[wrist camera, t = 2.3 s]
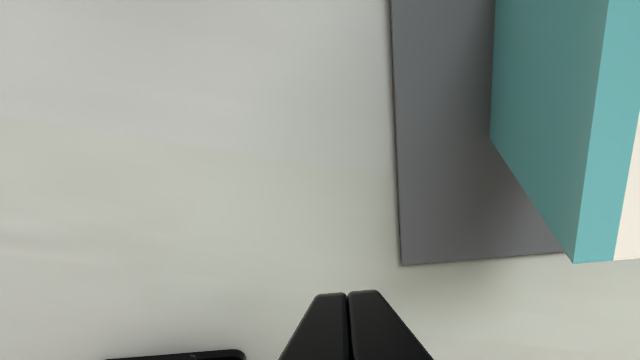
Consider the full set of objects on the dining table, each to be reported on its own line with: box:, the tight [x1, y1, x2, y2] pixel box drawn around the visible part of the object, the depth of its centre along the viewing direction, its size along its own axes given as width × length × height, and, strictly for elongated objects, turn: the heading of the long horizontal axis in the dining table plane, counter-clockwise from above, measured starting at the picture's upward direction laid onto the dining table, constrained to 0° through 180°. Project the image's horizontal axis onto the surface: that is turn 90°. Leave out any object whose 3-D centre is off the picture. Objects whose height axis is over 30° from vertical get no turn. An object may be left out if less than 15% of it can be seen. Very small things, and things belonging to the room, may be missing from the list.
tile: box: [490, 0, 640, 264], centre depth 15 cm, size 6×2×7 cm, turn 6°
